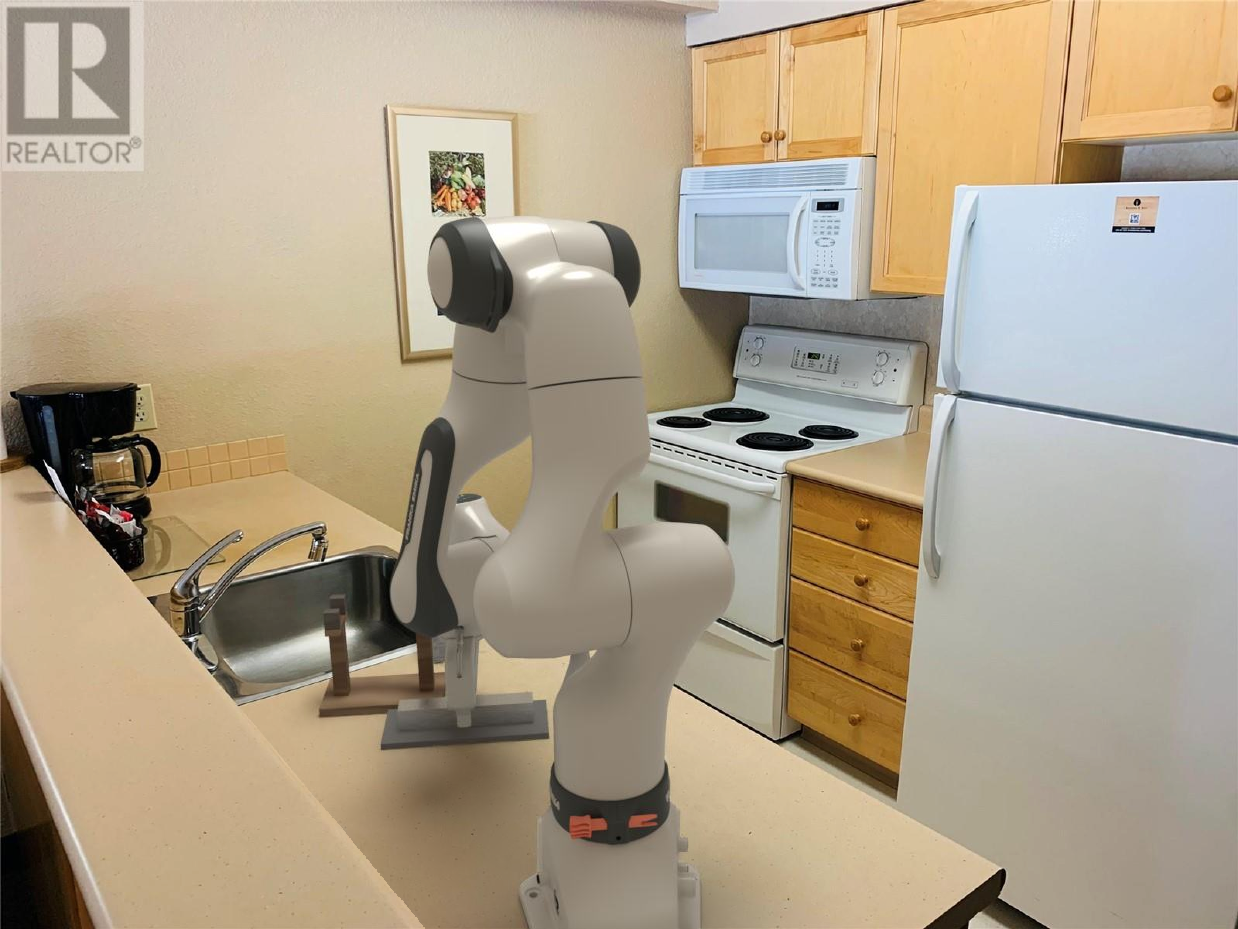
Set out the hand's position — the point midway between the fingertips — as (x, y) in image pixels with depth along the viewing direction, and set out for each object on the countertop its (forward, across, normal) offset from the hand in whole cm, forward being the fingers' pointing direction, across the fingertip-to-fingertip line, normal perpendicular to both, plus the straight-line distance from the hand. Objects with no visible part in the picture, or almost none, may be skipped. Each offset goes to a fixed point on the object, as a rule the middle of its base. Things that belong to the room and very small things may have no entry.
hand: (465, 706), depth 130 cm
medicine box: (+3, +24, +5) cm, 24 cm away
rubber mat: (+3, 0, 0) cm, 3 cm away
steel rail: (+2, 0, 0) cm, 2 cm away
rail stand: (+3, +10, +12) cm, 16 cm away
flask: (+3, +5, -16) cm, 17 cm away
